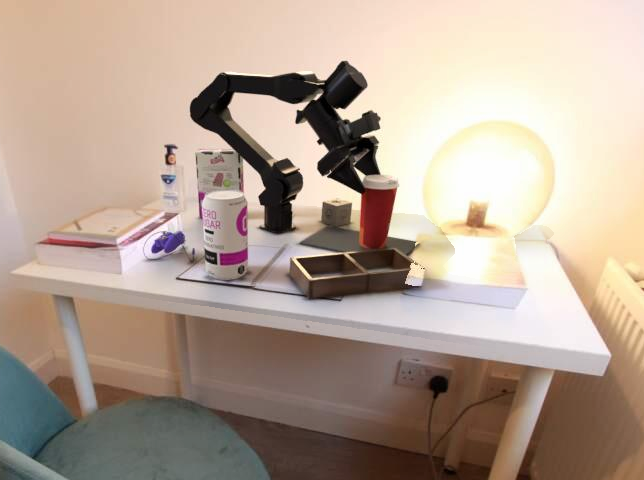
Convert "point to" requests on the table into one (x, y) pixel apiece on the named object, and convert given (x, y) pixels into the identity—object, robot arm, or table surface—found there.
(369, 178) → the paper cup
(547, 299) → the table surface
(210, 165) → the candy bar box
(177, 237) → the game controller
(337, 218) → the dice cube
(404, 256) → the divided tray
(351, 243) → the desk mat
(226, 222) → the supplement can
